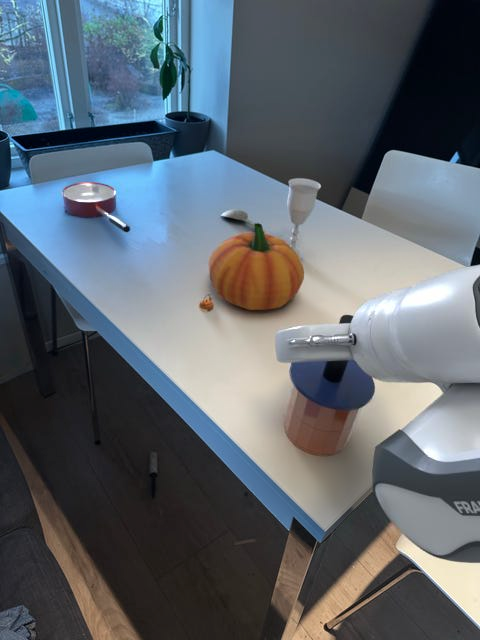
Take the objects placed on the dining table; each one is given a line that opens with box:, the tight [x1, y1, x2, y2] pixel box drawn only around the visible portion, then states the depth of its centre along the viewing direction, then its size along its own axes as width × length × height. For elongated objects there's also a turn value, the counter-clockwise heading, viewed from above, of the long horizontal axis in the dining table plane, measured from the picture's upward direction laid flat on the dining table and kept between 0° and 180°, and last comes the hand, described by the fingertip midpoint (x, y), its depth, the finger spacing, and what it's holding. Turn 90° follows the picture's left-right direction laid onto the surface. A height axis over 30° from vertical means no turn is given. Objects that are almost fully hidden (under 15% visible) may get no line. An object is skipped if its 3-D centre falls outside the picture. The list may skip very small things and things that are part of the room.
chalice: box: [286, 177, 322, 261], centre depth 102 cm, size 7×7×18 cm
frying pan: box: [61, 181, 131, 233], centre depth 110 cm, size 32×13×6 cm, turn 39°
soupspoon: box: [220, 208, 270, 235], centre depth 116 cm, size 22×3×7 cm
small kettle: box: [198, 293, 214, 312], centre depth 87 cm, size 3×3×3 cm
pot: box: [283, 384, 363, 457], centre depth 63 cm, size 10×10×10 cm
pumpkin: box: [208, 222, 305, 311], centre depth 89 cm, size 19×19×15 cm
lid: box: [288, 314, 376, 410], centre depth 57 cm, size 11×11×10 cm
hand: (339, 347), depth 57 cm, fingers open, 4 cm apart
